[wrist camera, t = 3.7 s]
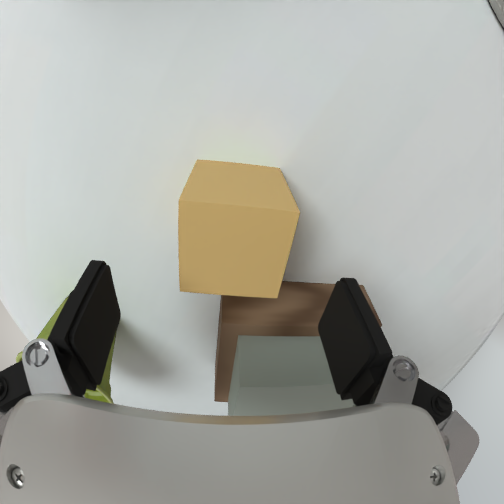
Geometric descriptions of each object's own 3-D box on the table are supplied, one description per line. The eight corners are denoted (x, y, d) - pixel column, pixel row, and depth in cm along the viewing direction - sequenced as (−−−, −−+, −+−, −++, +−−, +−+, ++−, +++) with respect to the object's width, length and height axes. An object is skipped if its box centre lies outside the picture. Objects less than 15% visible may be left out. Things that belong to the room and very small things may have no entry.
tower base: (361, 282, 23) (382, 324, 19) (317, 362, 30) (325, 399, 26) (223, 273, 21) (221, 323, 17) (215, 361, 28) (214, 401, 24)
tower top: (368, 334, 19) (384, 376, 16) (323, 396, 25) (329, 428, 22) (238, 335, 18) (239, 387, 15) (228, 399, 24) (228, 434, 21)
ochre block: (279, 168, 16) (300, 212, 11) (266, 236, 19) (277, 298, 14) (197, 159, 15) (178, 200, 11) (193, 230, 18) (179, 291, 13)
